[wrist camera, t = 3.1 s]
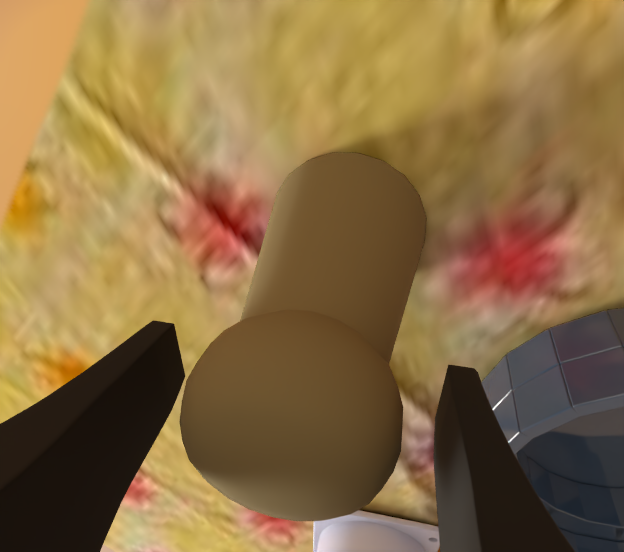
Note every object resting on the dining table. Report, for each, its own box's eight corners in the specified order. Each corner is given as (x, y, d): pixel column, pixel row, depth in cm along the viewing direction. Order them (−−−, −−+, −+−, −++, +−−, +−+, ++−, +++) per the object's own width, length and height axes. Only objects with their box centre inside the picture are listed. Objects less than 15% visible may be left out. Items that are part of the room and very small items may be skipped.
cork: (417, 139, 16) (401, 381, 8) (433, 284, 19) (434, 571, 11) (254, 164, 18) (85, 384, 9) (293, 292, 21) (195, 545, 12)
